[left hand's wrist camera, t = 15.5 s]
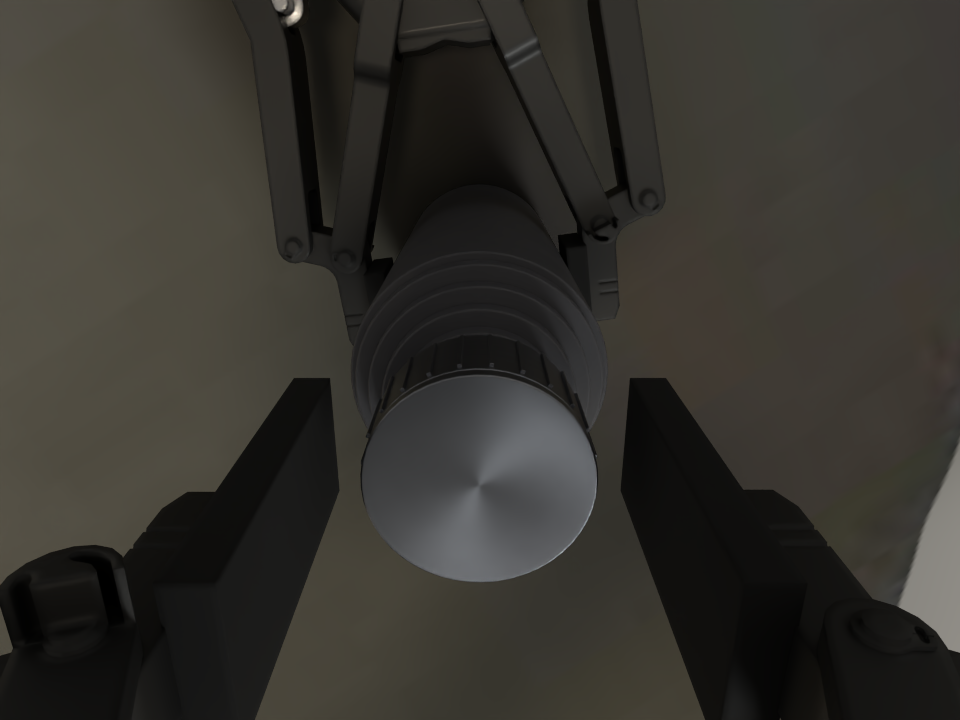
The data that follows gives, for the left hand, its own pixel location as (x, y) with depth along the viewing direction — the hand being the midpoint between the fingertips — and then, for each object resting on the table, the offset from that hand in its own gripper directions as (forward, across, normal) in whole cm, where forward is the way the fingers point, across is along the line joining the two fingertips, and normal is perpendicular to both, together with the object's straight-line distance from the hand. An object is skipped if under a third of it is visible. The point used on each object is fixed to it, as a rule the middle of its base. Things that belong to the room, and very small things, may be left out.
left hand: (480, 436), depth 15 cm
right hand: (+13, +1, -5) cm, 14 cm away
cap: (-2, 0, 0) cm, 2 cm away
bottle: (+19, 0, 0) cm, 19 cm away
